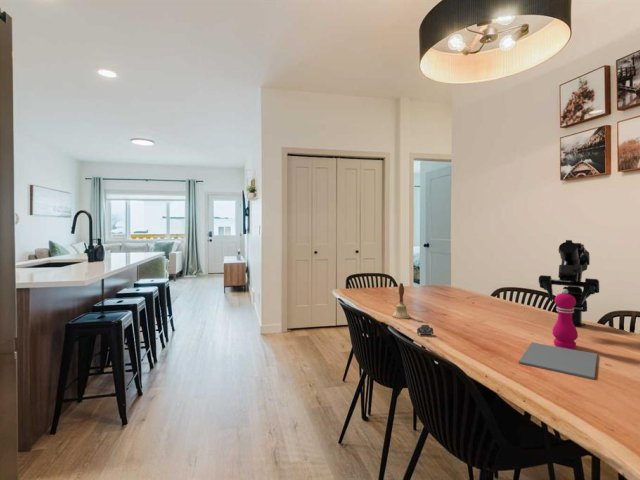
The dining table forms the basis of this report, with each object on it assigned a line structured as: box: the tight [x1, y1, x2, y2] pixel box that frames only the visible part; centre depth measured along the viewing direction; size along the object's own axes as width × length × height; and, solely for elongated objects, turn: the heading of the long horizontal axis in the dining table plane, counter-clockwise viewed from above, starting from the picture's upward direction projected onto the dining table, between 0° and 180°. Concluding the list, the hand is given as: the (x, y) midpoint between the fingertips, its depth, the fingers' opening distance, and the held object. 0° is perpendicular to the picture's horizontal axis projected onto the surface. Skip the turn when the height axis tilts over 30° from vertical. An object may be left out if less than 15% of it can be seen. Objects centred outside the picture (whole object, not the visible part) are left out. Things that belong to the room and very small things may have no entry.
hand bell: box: [392, 282, 411, 319], centre depth 161 cm, size 8×8×16 cm
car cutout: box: [416, 324, 434, 337], centre depth 133 cm, size 15×7×4 cm, turn 87°
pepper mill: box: [551, 288, 579, 350], centre depth 118 cm, size 7×7×20 cm
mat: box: [518, 341, 598, 380], centre depth 107 cm, size 22×18×1 cm
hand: (565, 302), depth 127 cm, fingers open, 9 cm apart
